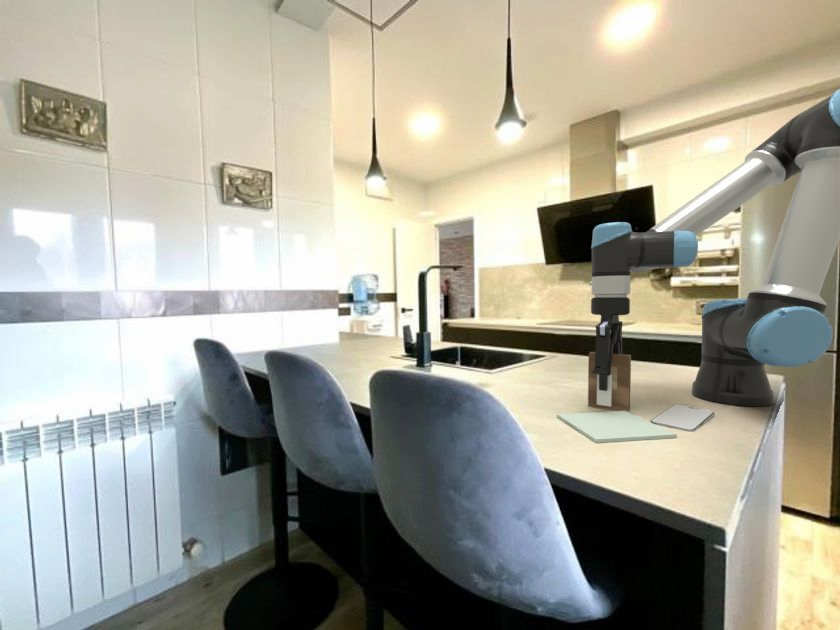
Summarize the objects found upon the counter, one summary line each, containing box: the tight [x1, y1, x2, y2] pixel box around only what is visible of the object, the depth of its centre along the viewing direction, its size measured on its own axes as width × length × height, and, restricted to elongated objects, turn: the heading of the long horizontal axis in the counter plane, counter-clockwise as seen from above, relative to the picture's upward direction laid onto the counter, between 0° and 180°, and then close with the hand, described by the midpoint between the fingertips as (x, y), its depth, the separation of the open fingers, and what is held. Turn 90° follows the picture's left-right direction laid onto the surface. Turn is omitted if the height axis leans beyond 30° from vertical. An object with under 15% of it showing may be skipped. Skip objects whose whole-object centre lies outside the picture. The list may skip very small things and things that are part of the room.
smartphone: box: [650, 404, 715, 433], centre depth 78 cm, size 7×1×15 cm
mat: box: [556, 410, 678, 444], centre depth 74 cm, size 15×14×1 cm
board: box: [587, 351, 632, 413], centre depth 85 cm, size 2×8×12 cm, turn 52°
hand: (608, 400), depth 85 cm, fingers open, 8 cm apart
